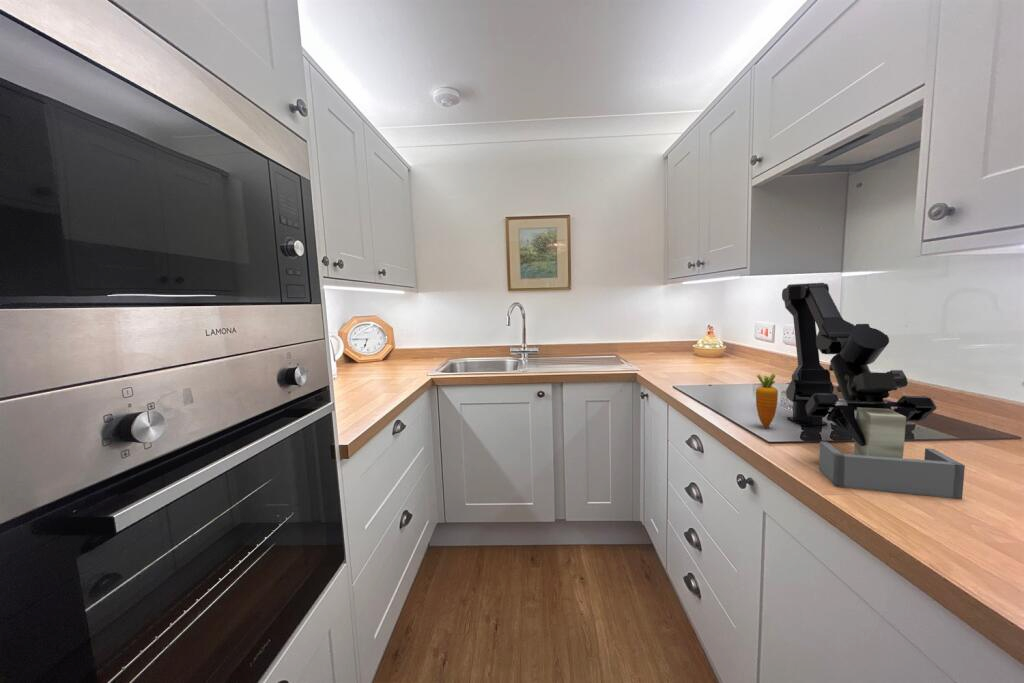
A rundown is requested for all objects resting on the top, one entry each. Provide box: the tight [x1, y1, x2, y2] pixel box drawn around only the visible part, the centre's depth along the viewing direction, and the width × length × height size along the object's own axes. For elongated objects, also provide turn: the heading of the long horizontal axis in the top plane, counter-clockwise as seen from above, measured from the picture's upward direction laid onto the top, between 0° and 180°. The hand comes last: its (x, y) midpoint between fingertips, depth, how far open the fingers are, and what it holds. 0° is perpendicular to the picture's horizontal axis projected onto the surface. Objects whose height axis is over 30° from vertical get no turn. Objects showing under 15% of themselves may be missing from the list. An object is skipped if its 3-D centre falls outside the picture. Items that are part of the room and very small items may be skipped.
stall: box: [818, 441, 966, 500], centre depth 69 cm, size 7×17×6 cm, turn 70°
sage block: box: [853, 407, 907, 458], centre depth 71 cm, size 5×5×13 cm
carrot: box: [755, 373, 779, 429], centre depth 99 cm, size 5×5×15 cm
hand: (881, 446), depth 69 cm, fingers closed on sage block, 5 cm apart
